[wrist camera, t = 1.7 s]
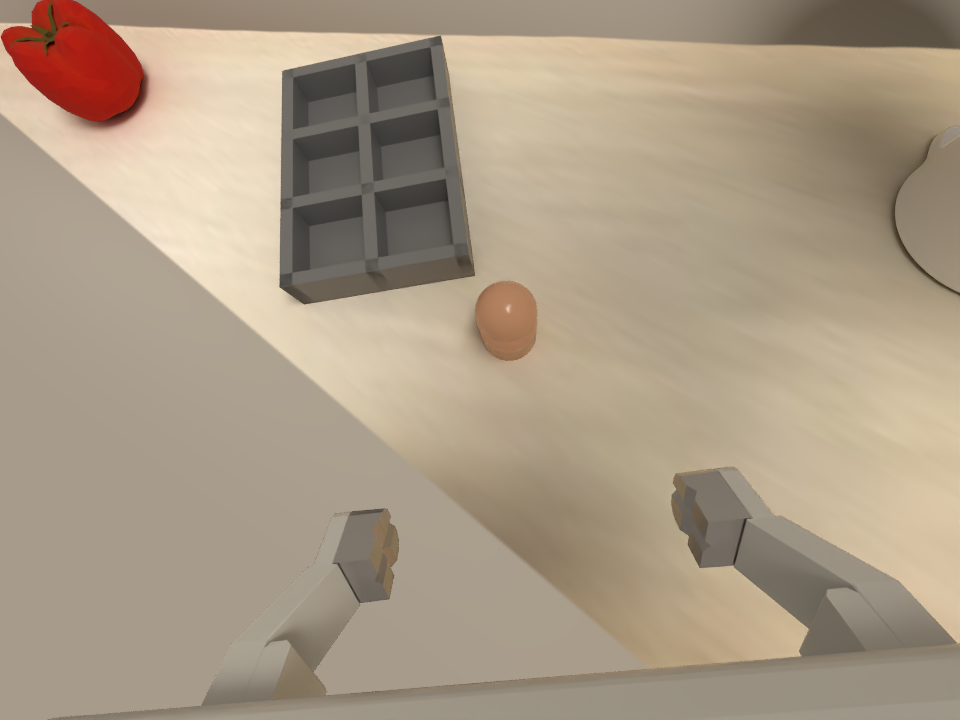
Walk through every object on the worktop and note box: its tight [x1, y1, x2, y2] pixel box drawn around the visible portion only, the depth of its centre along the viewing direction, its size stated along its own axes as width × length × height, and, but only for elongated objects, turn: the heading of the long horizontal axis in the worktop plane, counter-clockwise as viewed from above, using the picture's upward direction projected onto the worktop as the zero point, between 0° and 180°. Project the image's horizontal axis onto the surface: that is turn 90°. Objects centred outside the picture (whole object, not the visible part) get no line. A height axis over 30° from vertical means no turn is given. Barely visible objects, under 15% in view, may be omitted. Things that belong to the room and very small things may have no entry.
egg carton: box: [280, 36, 475, 304], centre depth 40 cm, size 17×25×4 cm
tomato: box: [1, 0, 144, 121], centre depth 45 cm, size 11×12×9 cm
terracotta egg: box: [475, 281, 537, 360], centre depth 32 cm, size 5×5×8 cm
